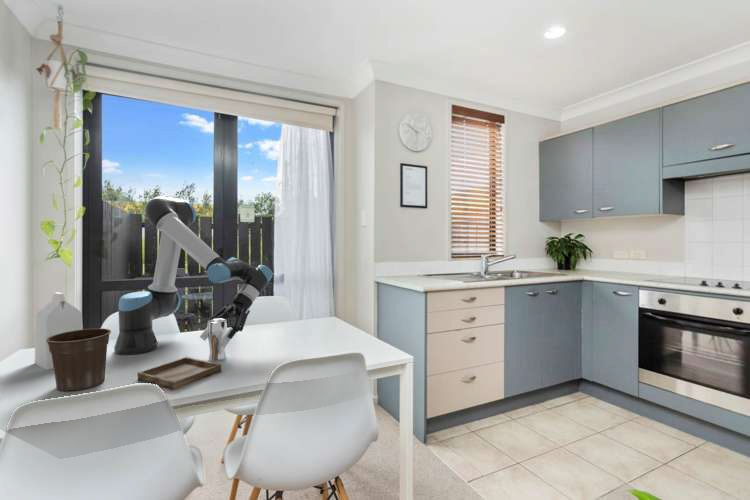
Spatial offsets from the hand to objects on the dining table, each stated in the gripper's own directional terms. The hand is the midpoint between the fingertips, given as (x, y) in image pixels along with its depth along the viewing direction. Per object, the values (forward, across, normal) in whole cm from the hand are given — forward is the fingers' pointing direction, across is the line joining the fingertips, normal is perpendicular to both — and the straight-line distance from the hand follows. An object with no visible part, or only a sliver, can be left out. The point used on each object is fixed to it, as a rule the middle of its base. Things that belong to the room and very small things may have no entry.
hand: (211, 341), depth 142 cm
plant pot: (+32, +12, +21) cm, 40 cm away
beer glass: (+4, 0, -7) cm, 8 cm away
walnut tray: (+16, -6, +6) cm, 18 cm away
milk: (+30, +43, +19) cm, 56 cm away
